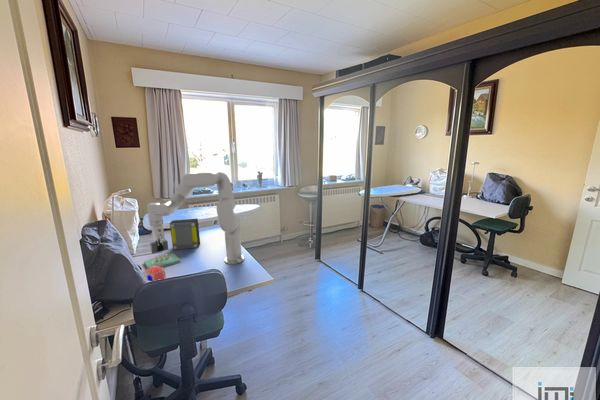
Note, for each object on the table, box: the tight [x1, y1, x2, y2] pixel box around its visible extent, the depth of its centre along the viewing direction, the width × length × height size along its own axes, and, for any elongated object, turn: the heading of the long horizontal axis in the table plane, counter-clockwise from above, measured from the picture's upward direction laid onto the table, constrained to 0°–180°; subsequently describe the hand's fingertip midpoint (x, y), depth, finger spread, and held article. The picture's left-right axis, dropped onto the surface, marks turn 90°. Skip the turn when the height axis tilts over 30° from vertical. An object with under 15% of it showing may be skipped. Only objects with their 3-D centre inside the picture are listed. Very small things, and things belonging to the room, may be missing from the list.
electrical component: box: [169, 218, 201, 251], centre depth 193 cm, size 18×10×20 cm, turn 101°
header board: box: [143, 252, 181, 269], centre depth 169 cm, size 14×18×5 cm
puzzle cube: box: [141, 265, 167, 281], centre depth 145 cm, size 8×8×8 cm
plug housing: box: [149, 239, 169, 254], centre depth 167 cm, size 3×9×6 cm, turn 132°
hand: (159, 249), depth 168 cm, fingers closed on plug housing, 3 cm apart
